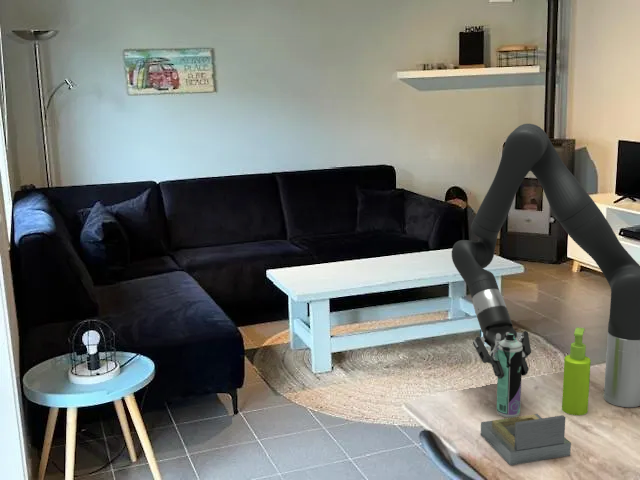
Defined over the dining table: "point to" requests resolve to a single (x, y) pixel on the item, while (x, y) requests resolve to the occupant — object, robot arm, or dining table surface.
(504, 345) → the spray can
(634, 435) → the dining table surface
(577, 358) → the soap dispenser
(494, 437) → the grey and tan frame
